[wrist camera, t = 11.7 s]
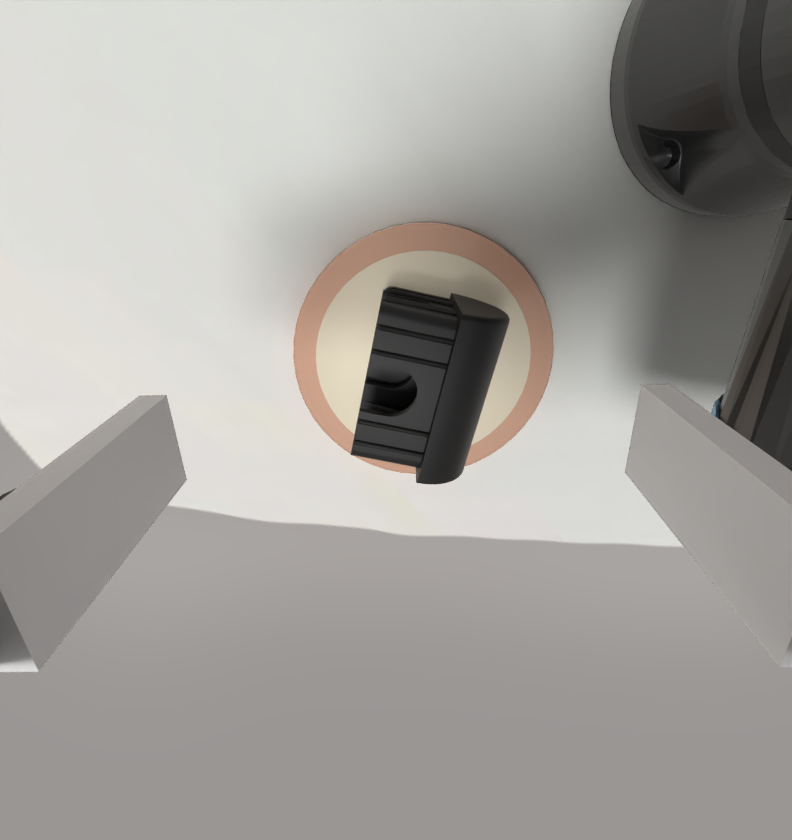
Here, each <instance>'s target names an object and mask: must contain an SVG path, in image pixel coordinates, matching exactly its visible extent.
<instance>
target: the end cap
mask: <svg viewBox="0 0 792 840" xmlns="http://www.w3.org/2000/svg"><path fill="white" fill-rule="evenodd" d="M509 322H510V318H509V316H508V314H506V313H505V312H504V311H503V310H501V309H499V308H497V307H495V306H493V305H490V304H488V303H485V302H482V301H479V300H476V299H473V298H469V297H466V296H462V295H458V294H454V293H451V295H450V298H449V299H448V298H444V297H440V296H435V295H431V294H426V293H422V292H417V291H413V290H408V289H404V288H399V287H395V286H389V287H387V288H386V289H383V293H382V298H381V303H380V308H379V313H378V318H377V323H376V328H375V333H374V338H373V343H372V348H371V353H370V358H369V363H368V368H367V374H366V379H365V384H364V389H363V394H362V399H361V404H360V409H359V414H358V419H357V424H356V429H355V434H354V440H353V445H352V450H351V455H354V456H359V457H364V458H370V459H375V460H380V461H385V462H391V463H396V464H401V465H406V466H411V467H416V482H417V483H422V484H443V483H447V482H450V481H453V480H455V479H456V478H458V477H459V476H460V475H461V474H462V472H463V469H464V466H465V463H466V460H467V456H468V453H469V450H470V447H471V444H472V440H473V437H474V434H475V431H476V428H477V424H478V421H479V418H480V415H481V412H482V408H483V405H484V402H485V399H486V396H487V392H488V389H489V386H490V383H491V380H492V376H493V373H494V370H495V367H496V364H497V360H498V357H499V354H500V351H501V348H502V344H503V341H504V338H505V335H506V332H507V328H508V325H509Z"/></svg>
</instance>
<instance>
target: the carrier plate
mask: <svg viewBox="0 0 792 840" xmlns="http://www.w3.org/2000/svg"><path fill="white" fill-rule="evenodd" d="M389 286H395V287H399V288H404V289H408V290H413V291H417V292H422V293H426V294H431V295H435V296H440V297H444V298H448V299H449V298H450V295H451V293H454V294H458V295H462V296H466V297H469V298H473V299H476V300H479V301H482V302H485V303H488V304H490V305H493V306H495V307H497V308H499V309H501V310H503V311H504V312H505V313H506V314H508V316H509V318H510V322H509V325H508V328H507V332H506V335H505V338H504V341H503V344H502V348H501V351H500V354H499V357H498V360H497V364H496V367H495V370H494V373H493V376H492V380H491V383H490V386H489V389H488V392H487V396H486V399H485V402H484V405H483V408H482V412H481V415H480V418H479V421H478V424H477V428H476V431H475V434H474V437H473V440H472V444H471V447H470V450H469V453H468V456H467V460H466V463H465V466H467V465H470V464H472V463H475V462H477V461H479V460H481V459H483V458H485V457H487V456H489V455H491V454H492V453H494V452H495V451H497V450H498V449H499V448H501V447H502V446H504V445H505V444H506V443H507V442H508V441H509V440H511V439H512V438H513V437H514V436H515V435H516V434H517V433H518V432H519V431H520V430H521V429H522V427H523V426H524V425H525V424H526V423H527V421H528V420H529V419H530V417H531V416H532V414H533V413H534V411H535V410H536V408H537V406H538V404H539V402H540V400H541V398H542V396H543V394H544V391H545V388H546V386H547V383H548V380H549V375H550V371H551V367H552V358H553V332H552V327H551V321H550V316H549V313H548V310H547V307H546V304H545V301H544V299H543V297H542V295H541V293H540V291H539V289H538V287H537V285H536V283H535V282H534V280H533V279H532V278H531V276H530V275H529V273H528V272H527V270H526V269H525V268H524V267H523V266H522V265H521V264H520V263H519V262H518V261H517V260H516V259H515V258H514V257H513V256H512V255H511V254H509V253H508V252H507V251H506V250H504V249H503V248H502V247H501V246H499V245H497V244H496V243H494V242H492V241H491V240H489V239H487V238H486V237H484V236H482V235H479V234H477V233H474V232H472V231H470V230H467V229H465V228H461V227H457V226H453V225H449V224H442V223H433V222H420V223H407V224H402V225H396V226H392V227H389V228H386V229H383V230H379V231H376V232H374V233H372V234H370V235H368V236H366V237H364V238H362V239H360V240H359V241H357V242H356V243H354V244H353V245H351V246H350V247H348V248H347V249H345V250H344V251H343V252H342V253H341V254H340V255H339V256H337V257H336V258H335V259H334V260H333V261H332V262H331V263H330V264H329V265H328V266H327V267H326V268H325V270H324V271H323V272H322V273H321V274H320V276H319V277H318V278H317V280H316V281H315V283H314V284H313V286H312V287H311V289H310V291H309V292H308V294H307V296H306V299H305V301H304V303H303V305H302V308H301V310H300V314H299V317H298V321H297V324H296V330H295V336H294V366H295V374H296V378H297V382H298V385H299V389H300V392H301V394H302V397H303V399H304V401H305V404H306V406H307V407H308V409H309V411H310V413H311V414H312V416H313V418H314V419H315V420H316V422H317V423H318V424H319V426H320V427H321V428H322V430H323V431H324V432H325V433H326V434H327V435H328V436H329V437H330V438H331V439H332V440H333V441H334V442H335V443H337V444H338V445H339V446H340V447H342V448H343V449H344V450H346V451H347V452H349V453H350V454H351V450H352V445H353V440H354V434H355V429H356V424H357V419H358V414H359V409H360V404H361V399H362V394H363V389H364V384H365V379H366V374H367V368H368V363H369V358H370V353H371V348H372V343H373V338H374V333H375V328H376V323H377V318H378V313H379V308H380V303H381V298H382V293H383V289H386V288H387V287H389ZM355 457H357V458H359V459H361V460H363V461H365V462H367V463H369V464H372V465H374V466H377V467H380V468H383V469H387V470H391V471H396V472H401V473H412V474H416V467H411V466H406V465H401V464H396V463H391V462H385V461H380V460H375V459H370V458H364V457H359V456H355ZM465 466H464V467H465Z"/></svg>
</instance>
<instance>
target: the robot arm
mask: <svg viewBox="0 0 792 840" xmlns="http://www.w3.org/2000/svg"><path fill="white" fill-rule="evenodd" d="M610 97H611V112H612V120H613V125H614V130H615V134H616V138H617V141H618V144H619V147H620V150H621V152H622V154H623V156H624V159H625V161H626V162H627V164H628V166H629V168H630V169H631V171H632V172H633V174H634V175H635V176H636V178H637V179H638V180H639V181H640V183H641V184H642V185H643V186H644V187H645V188H646V189H647V190H648V191H650V192H651V193H652V194H653V195H654V196H656V197H657V198H659V199H660V200H662V201H663V202H665V203H667V204H669V205H671V206H673V207H675V208H678V209H681V210H684V211H687V212H691V213H696V214H702V215H717V216H747V215H754V214H761V213H766V212H770V211H774V210H777V209H781V208H784V207H787V206H788V208H787V211H786V214H785V216H784V218H786V219H782V222H781V225H780V228H779V231H778V234H777V237H776V240H775V243H774V246H773V249H772V252H771V255H770V258H769V261H768V264H767V267H766V270H765V273H764V276H763V279H762V282H761V285H760V289H759V292H758V295H757V298H756V301H755V304H754V307H753V310H752V313H751V316H750V319H749V322H748V325H747V328H746V331H745V334H744V337H743V340H742V343H741V346H740V349H739V352H738V355H737V358H736V362H735V365H734V368H733V371H732V374H731V377H730V380H729V382H728V385H727V388H726V391H725V394H723V395H721V397H720V398H719V399H718V400H717V401H715V403H714V406H713V409H712V413H710V412H708V411H707V410H705V409H704V408H703V407H701V406H700V405H698V404H697V403H696V402H694V401H693V400H691V399H690V398H689V397H687V396H686V395H684V394H683V393H682V392H680V391H679V390H677V389H676V388H675V387H673V386H672V385H670V384H644V385H641V388H640V393H639V399H638V404H637V410H636V415H635V420H634V426H633V431H632V437H631V442H630V447H629V453H628V458H627V464H626V469H625V473H626V474H627V476H628V477H629V478H630V479H631V481H632V482H633V483H634V484H635V486H636V487H637V488H638V489H639V491H640V492H641V493H642V494H643V496H644V497H645V498H646V500H647V501H648V502H649V503H650V505H651V506H652V507H653V508H654V510H655V511H656V512H657V513H658V515H659V516H660V517H661V519H662V520H663V521H664V522H665V524H666V525H667V526H668V527H669V529H670V530H671V531H672V532H673V534H674V535H675V536H676V538H677V539H678V540H679V541H680V543H681V544H682V545H683V546H684V548H685V549H686V550H687V551H688V553H689V554H690V555H691V556H692V558H693V559H694V560H695V561H696V563H697V564H698V565H699V566H700V568H701V569H702V570H703V572H704V573H705V574H706V575H707V577H708V578H709V579H710V580H711V582H712V583H713V584H714V586H715V587H716V588H717V589H718V591H719V592H720V593H721V594H722V596H723V597H724V598H725V599H726V601H727V602H728V603H729V604H730V606H731V607H732V608H733V610H734V611H735V612H736V613H737V615H738V616H739V617H740V618H741V620H742V621H743V622H744V624H745V625H746V626H747V627H748V629H749V630H750V631H751V632H752V634H753V635H754V636H755V637H756V639H757V640H758V641H759V642H760V644H761V645H762V646H763V647H764V649H765V650H766V651H767V653H768V654H769V655H770V656H771V658H772V659H773V660H774V661H775V663H776V664H777V665H778V667H781V668H784V667H792V0H633V1H632V3H631V5H630V7H629V9H628V12H627V14H626V17H625V19H624V22H623V25H622V28H621V31H620V34H619V38H618V42H617V45H616V50H615V55H614V60H613V66H612V74H611V94H610ZM186 480H187V479H186V475H185V471H184V466H183V462H182V458H181V454H180V450H179V446H178V441H177V437H176V433H175V429H174V425H173V420H172V416H171V412H170V408H169V404H168V400H167V395H153V396H139V397H137V398H136V399H135V400H133V401H132V402H131V403H129V404H128V405H127V406H125V407H124V408H123V409H121V410H120V411H119V412H117V413H116V414H115V415H113V416H112V417H111V418H109V419H108V420H107V421H105V422H104V423H103V424H101V425H100V426H99V427H97V428H96V429H95V430H93V431H92V432H91V433H89V434H88V435H87V436H85V437H84V438H83V439H81V440H80V441H79V442H77V443H76V444H75V445H74V446H72V447H71V448H70V449H68V450H67V451H66V452H64V453H63V454H62V455H60V456H59V457H58V458H56V459H55V460H54V461H52V462H51V463H50V464H48V465H47V466H46V467H44V468H43V469H42V470H40V471H39V472H38V473H36V474H35V475H34V476H32V477H31V478H30V479H28V480H27V481H26V482H24V483H23V484H22V485H20V486H19V487H18V488H16V489H14V490H12V491H10V492H7V493H5V494H3V495H2V496H0V672H39V671H40V669H41V668H42V667H43V665H44V664H45V663H46V662H47V660H48V659H49V658H50V656H51V655H52V654H53V653H54V651H55V650H56V649H57V647H58V646H59V645H60V643H61V642H62V641H63V639H64V638H65V637H66V636H67V634H68V633H69V632H70V630H71V629H72V628H73V626H74V625H75V624H76V623H77V621H78V620H79V619H80V617H81V616H82V615H83V614H84V612H85V611H86V610H87V608H88V607H89V606H90V605H91V603H92V602H93V601H94V599H95V598H96V597H97V595H98V594H99V593H100V592H101V590H102V589H103V588H104V586H105V585H106V584H107V582H108V581H109V580H110V579H111V577H112V576H113V575H114V573H115V572H116V571H117V570H118V568H119V567H120V566H121V564H122V563H123V562H124V560H125V559H126V558H127V557H128V555H129V554H130V553H131V551H132V550H133V548H134V547H135V546H136V545H137V543H138V542H139V541H140V540H141V538H142V537H143V535H144V534H145V533H146V532H147V531H148V529H149V528H150V527H151V525H152V524H153V523H154V521H155V520H156V519H157V517H158V516H159V515H160V514H161V512H162V511H163V510H164V509H165V507H166V506H167V505H168V503H169V502H170V501H171V499H172V498H173V497H174V496H175V494H176V493H177V492H178V490H179V489H180V488H181V487H182V485H183V484H184V483H185V481H186Z"/></svg>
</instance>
